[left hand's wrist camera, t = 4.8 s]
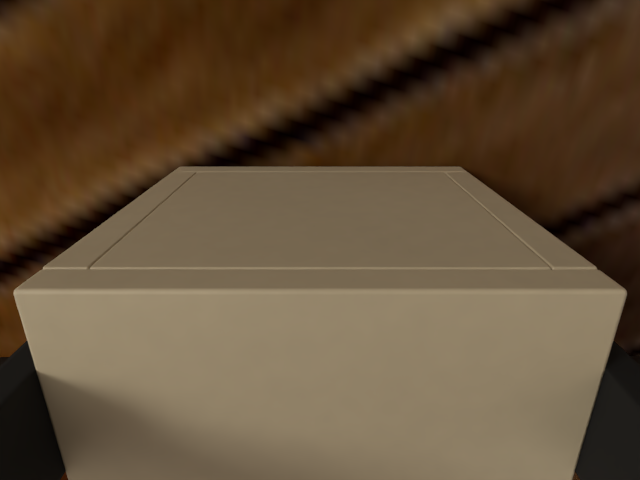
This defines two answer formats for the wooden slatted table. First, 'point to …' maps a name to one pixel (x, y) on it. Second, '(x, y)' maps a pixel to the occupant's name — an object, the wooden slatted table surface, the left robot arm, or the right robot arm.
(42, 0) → the wooden slatted table surface
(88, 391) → the cabinet
